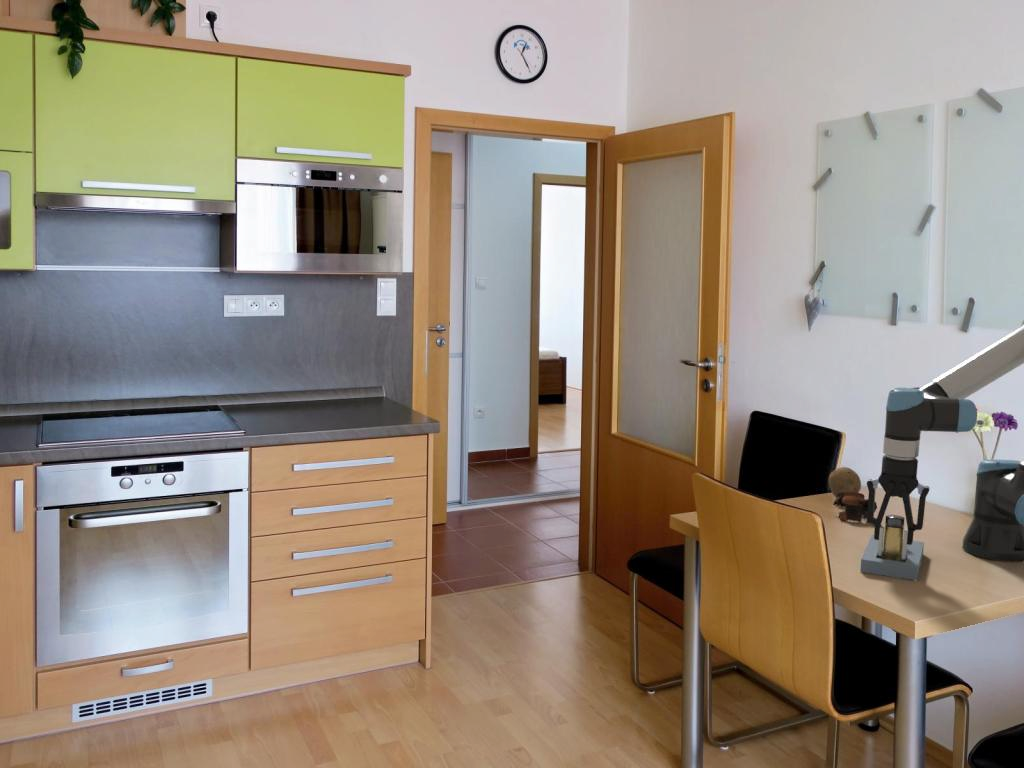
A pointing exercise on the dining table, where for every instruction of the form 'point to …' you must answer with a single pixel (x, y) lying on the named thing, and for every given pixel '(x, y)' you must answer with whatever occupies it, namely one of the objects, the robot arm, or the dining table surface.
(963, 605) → the dining table surface
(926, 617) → the dining table surface
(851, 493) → the pottery mug
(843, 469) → the natural sponge
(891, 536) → the spice jar
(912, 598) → the dining table surface
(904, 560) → the block
